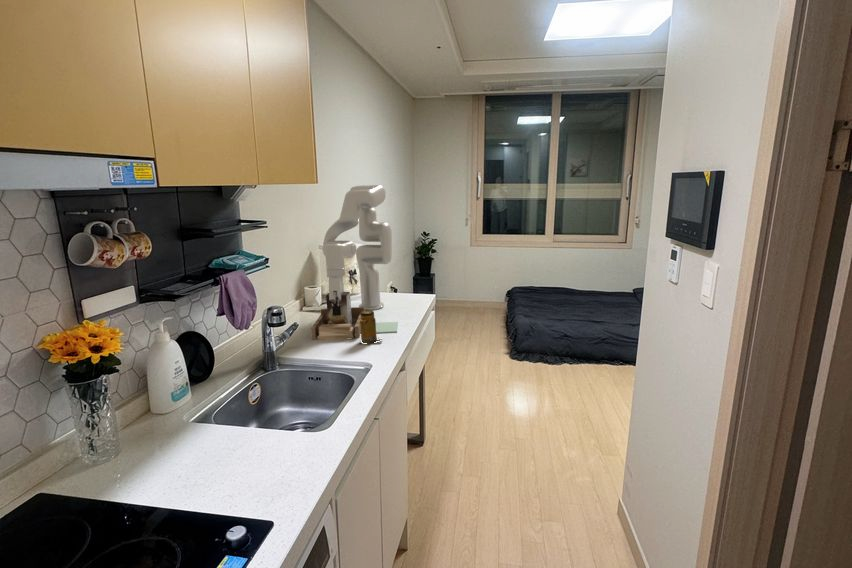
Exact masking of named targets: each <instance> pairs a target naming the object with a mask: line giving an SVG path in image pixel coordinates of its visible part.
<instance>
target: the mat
mask: <svg viewBox="0 0 852 568" xmlns="http://www.w3.org/2000/svg"><path fill="white" fill-rule="evenodd" d="M398 326H399V322H398V321H390V322H389V321H388V322H386V321H385V322H376V334H388V333H389V334H390V333H391V334H392V333H393V332H395V333H398Z"/></svg>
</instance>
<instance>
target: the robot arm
mask: <svg viewBox="0 0 852 568" xmlns="http://www.w3.org/2000/svg"><path fill="white" fill-rule="evenodd" d="M386 193H387V192H386V189H385V188H384V186H383V185H380V184H372V185H371V184H369V185H368V184H367V185H366V184H365V185H364V184H363V185H355V186H352V187H351V188H350V189H349V190H348V191H347V192H346V193H345V195H344V199H343V203H342V207H341V211H340V215H339V218H338V219H337V220H336V221H335V222H334V223H332V225H331V226H330V227H329V228H328V229H327V230H326V232H325V235H324V239H323V242H322V253H323V256H324V257H325V266H326V267H325V268H326V269H325V270H326V277H327V278H328V293H329V300H330V301H332V300H333V301H332V310H333V316H340V315H341V310H340V306H339V303H340V300H341V295H342V294H343V292H345V285H344V277H346V268H345V259H351V258H353V257H356V261H357V264H358V272H359V284H360V285H359V288H360V299H361V303H360V304H359V305H358V307H364V311H368V310H370V311H375V310H379V309H382V308H384V305H385V304H384V302H382V301H381V291H380V273H379V269H378V268H377V266H376V265H387V264H390V263H391V260H392V257H393V256H392V255H393V254H392V253H393V252H392V251H393V246H392V245H393V243H392V239H393V238H392V237H393V236H392V229H391V225H390V224H389V223H388V222H383V221H382V222H381V221H379V222H377V210H376V209H375V208H376V207H379V205H381V204H383V202H384V201H385V199H386V197H387V196H386ZM357 226H358V235H359V238H360V240H361V241H362V242H366V243H380V244H362V245H359V246H358V247H357V245H356V243H354V242H353V241H351V240H336V239H337V238H338V237H339V236H340V235H342V234H343V233H345V232H347V231H349V230H351V229H354V228H355V227H357ZM355 255H356V256H355ZM337 298H338V299H337ZM337 301H338V303H337Z"/></svg>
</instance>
